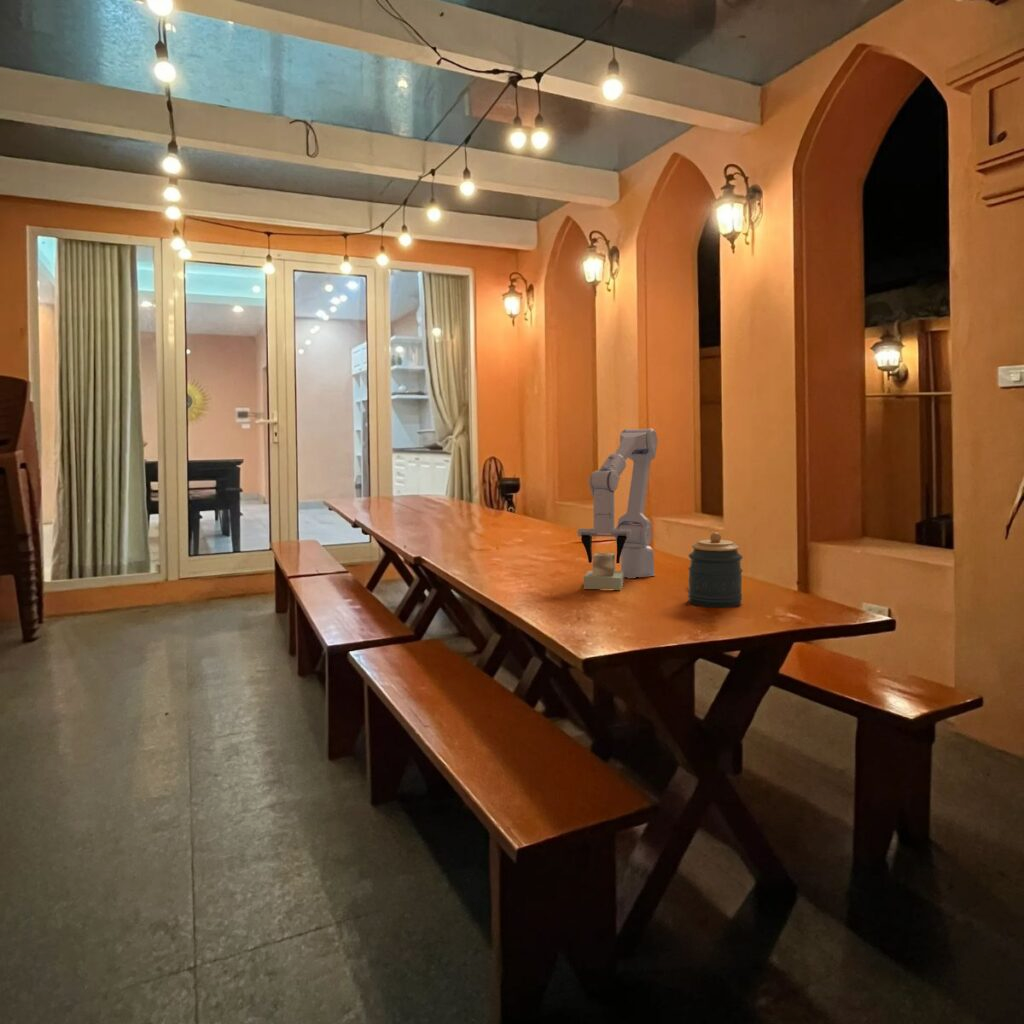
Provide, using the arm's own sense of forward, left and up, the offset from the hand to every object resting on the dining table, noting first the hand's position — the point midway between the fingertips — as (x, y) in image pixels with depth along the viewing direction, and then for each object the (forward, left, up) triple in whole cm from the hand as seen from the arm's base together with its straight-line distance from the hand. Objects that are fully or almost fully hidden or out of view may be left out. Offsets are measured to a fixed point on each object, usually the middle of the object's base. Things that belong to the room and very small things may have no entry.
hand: (604, 562), depth 203 cm
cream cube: (0, 0, -3) cm, 3 cm away
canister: (-14, +30, -7) cm, 34 cm away
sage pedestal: (0, 0, -7) cm, 7 cm away
